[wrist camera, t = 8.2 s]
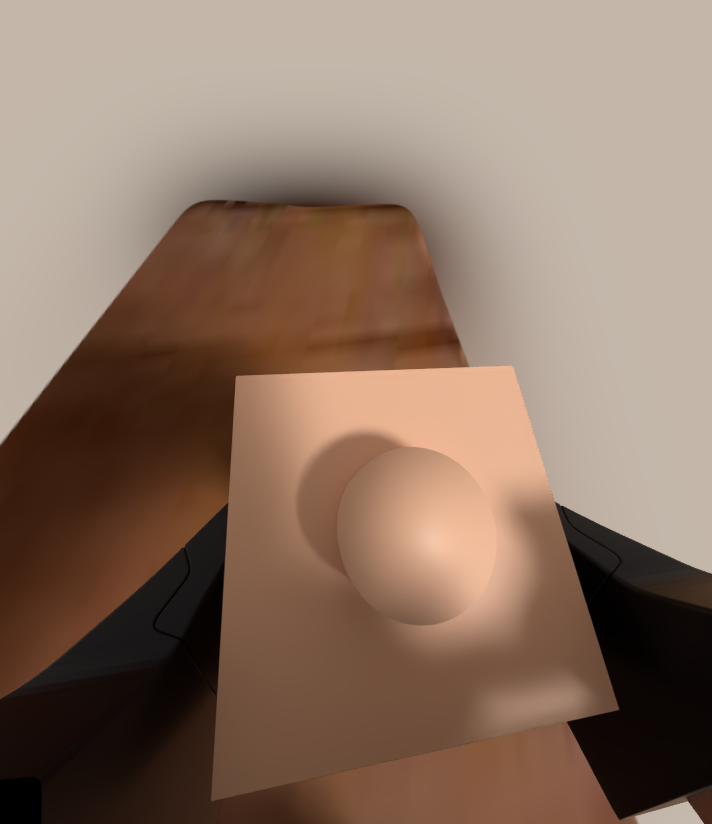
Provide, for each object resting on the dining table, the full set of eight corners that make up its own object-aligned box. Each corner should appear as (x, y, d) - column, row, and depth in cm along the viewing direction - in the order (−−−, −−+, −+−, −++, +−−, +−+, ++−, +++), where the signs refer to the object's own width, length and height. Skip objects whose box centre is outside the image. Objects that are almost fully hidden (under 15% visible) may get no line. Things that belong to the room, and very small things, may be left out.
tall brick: (410, 556, 14) (686, 760, 3) (301, 570, 14) (175, 892, 3) (395, 450, 16) (540, 345, 5) (298, 457, 16) (219, 354, 4)
